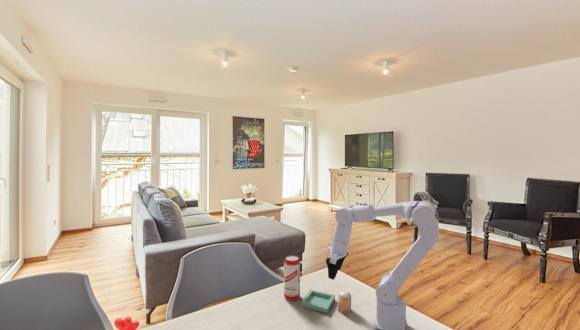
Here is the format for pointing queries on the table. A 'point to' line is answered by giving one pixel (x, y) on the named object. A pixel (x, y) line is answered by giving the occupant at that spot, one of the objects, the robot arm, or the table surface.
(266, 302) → the table surface
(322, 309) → the tray
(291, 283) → the beer can
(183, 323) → the table surface
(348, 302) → the shaker
